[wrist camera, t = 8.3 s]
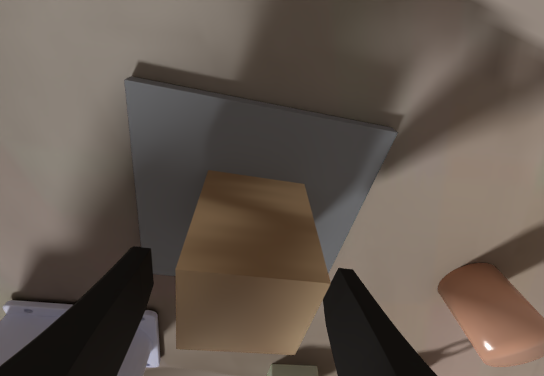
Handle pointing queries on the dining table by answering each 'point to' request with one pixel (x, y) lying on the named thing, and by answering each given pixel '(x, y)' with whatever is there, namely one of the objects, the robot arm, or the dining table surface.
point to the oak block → (249, 267)
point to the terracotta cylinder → (493, 315)
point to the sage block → (292, 370)
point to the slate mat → (242, 159)
